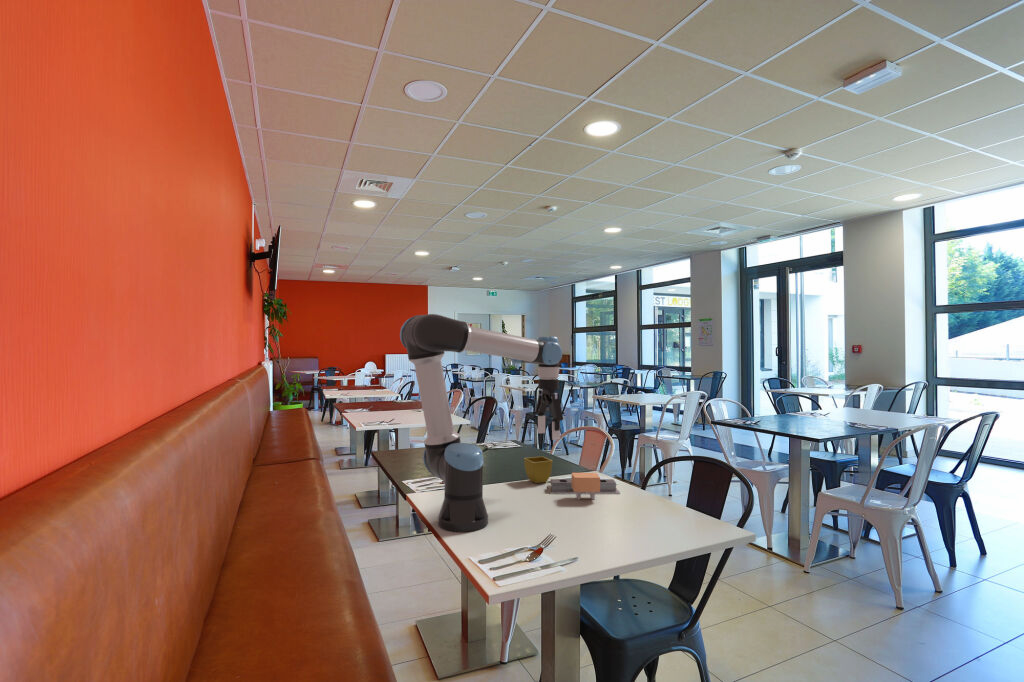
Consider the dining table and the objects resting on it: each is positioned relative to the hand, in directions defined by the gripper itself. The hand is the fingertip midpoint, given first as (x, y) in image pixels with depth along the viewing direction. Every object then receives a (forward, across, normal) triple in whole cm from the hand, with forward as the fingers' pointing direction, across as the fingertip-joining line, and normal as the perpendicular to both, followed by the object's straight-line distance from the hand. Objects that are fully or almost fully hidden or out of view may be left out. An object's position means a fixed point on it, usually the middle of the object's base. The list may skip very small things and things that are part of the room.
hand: (548, 436), depth 190 cm
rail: (+21, +1, -14) cm, 26 cm away
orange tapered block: (+21, -10, -10) cm, 25 cm away
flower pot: (+21, +17, -2) cm, 27 cm away
